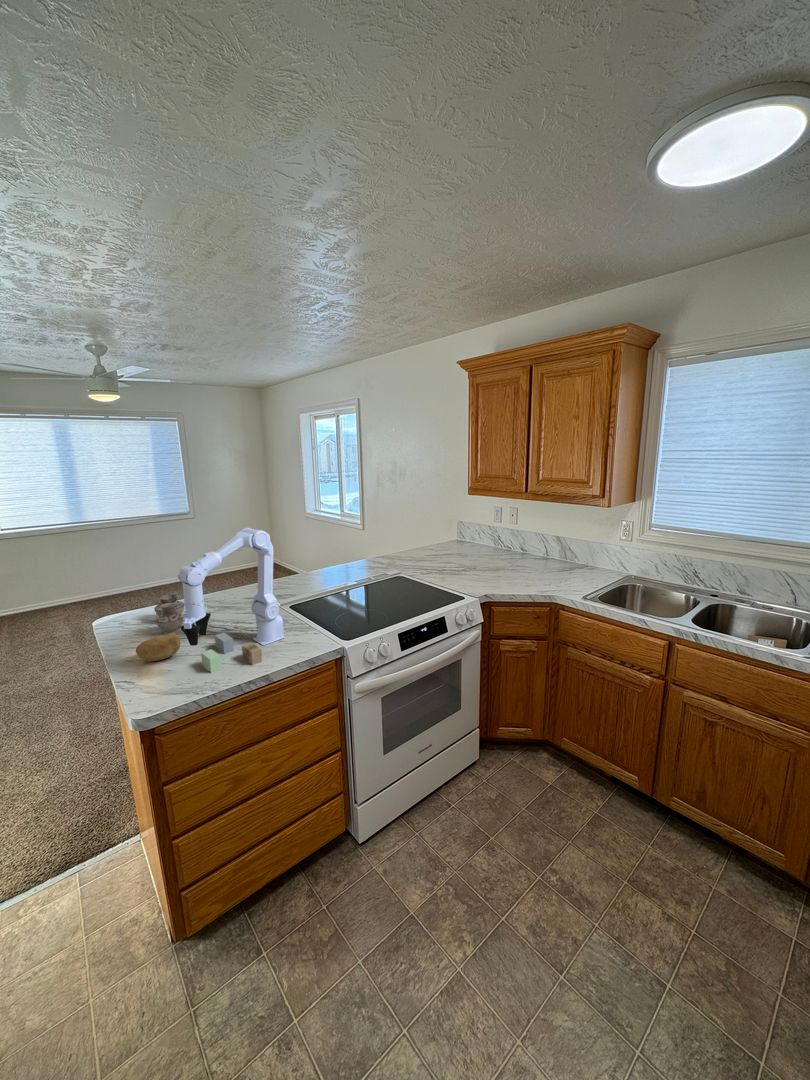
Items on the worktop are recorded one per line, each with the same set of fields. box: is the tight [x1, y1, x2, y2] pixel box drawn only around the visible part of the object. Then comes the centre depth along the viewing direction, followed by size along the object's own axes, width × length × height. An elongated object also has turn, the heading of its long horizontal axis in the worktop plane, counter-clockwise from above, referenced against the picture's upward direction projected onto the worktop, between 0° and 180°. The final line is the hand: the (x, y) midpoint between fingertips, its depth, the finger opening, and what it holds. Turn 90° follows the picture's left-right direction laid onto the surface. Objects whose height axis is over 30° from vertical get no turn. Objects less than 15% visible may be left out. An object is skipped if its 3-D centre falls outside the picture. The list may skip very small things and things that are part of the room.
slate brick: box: [214, 632, 235, 654], centre depth 160 cm, size 7×4×5 cm, turn 47°
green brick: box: [200, 649, 223, 674], centre depth 147 cm, size 7×4×5 cm, turn 47°
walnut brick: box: [241, 642, 263, 666], centre depth 152 cm, size 7×4×5 cm, turn 47°
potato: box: [135, 633, 181, 662], centre depth 152 cm, size 10×14×8 cm
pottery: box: [153, 593, 185, 635], centre depth 179 cm, size 11×25×12 cm, turn 29°
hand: (198, 639), depth 146 cm, fingers open, 7 cm apart
